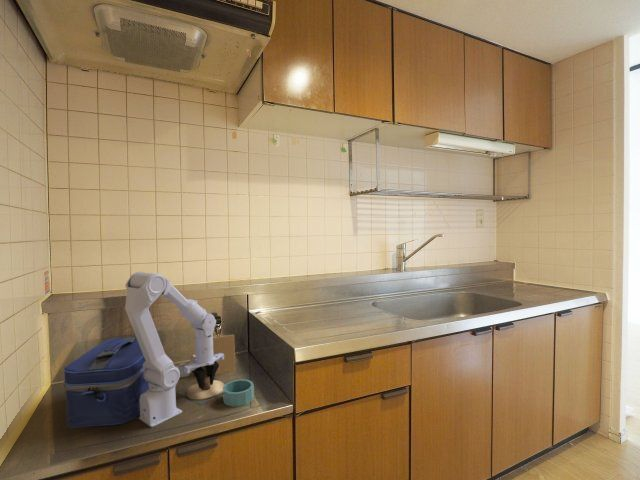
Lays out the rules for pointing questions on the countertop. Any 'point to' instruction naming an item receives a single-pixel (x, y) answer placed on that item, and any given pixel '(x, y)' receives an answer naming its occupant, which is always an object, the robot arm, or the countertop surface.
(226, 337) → the sandwich container
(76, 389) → the lunch bag
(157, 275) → the robot arm
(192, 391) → the lid
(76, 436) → the countertop surface
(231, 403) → the bowl
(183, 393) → the mat
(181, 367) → the lighter
